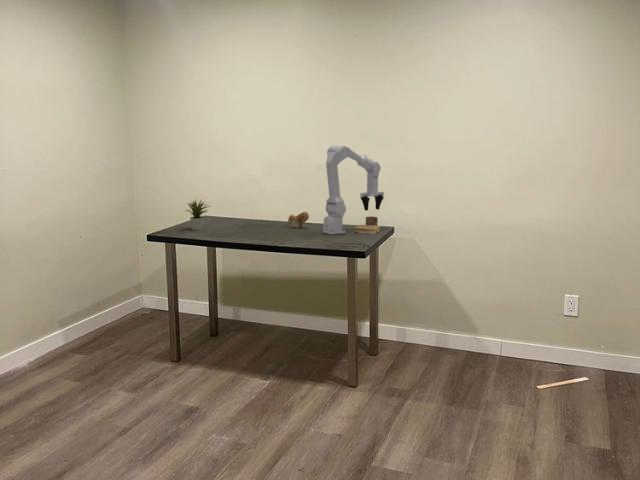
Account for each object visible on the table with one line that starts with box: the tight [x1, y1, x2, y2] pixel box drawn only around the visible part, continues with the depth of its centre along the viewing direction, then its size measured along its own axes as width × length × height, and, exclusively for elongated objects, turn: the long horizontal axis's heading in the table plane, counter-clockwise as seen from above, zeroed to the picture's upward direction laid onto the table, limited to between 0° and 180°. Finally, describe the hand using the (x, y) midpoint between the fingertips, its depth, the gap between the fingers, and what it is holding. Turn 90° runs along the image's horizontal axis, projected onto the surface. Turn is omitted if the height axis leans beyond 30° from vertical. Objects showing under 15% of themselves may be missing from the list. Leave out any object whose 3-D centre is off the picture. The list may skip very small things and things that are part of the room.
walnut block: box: [365, 216, 379, 226], centre depth 321 cm, size 4×4×6 cm
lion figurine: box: [284, 211, 310, 230], centre depth 321 cm, size 15×5×9 cm, turn 63°
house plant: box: [184, 198, 211, 231], centre depth 312 cm, size 14×14×16 cm
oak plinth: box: [353, 224, 381, 235], centre depth 310 cm, size 11×11×3 cm
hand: (371, 209), depth 320 cm, fingers open, 7 cm apart
